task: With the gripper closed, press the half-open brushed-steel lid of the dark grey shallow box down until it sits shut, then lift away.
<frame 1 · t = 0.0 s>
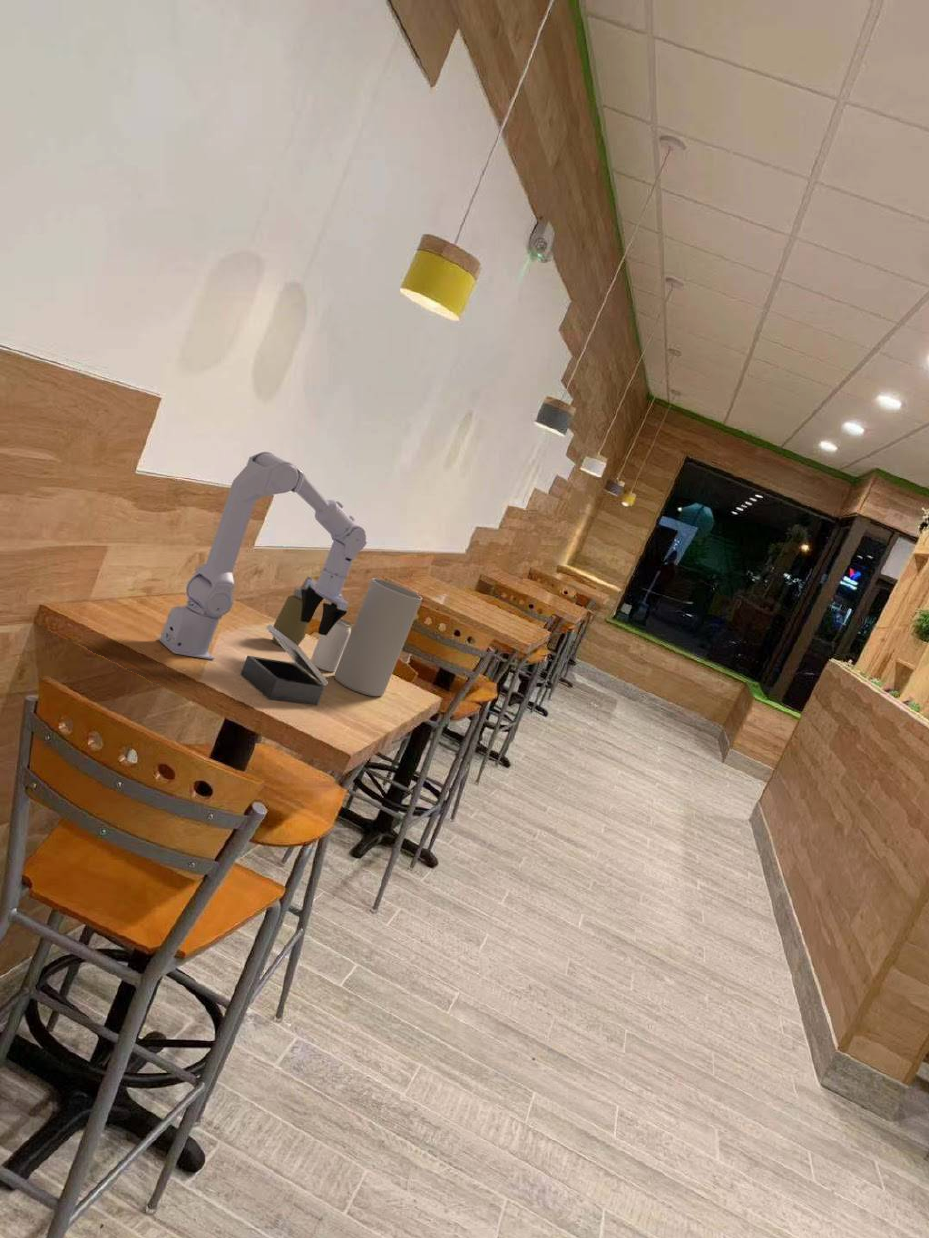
hand: (313, 627, 208), 10 cm above the table, fingers open, 7 cm apart
can: (322, 667, 220), on the table
lid: (297, 654, 188), point 8 cm above the table, hinge at 32.0°
squeeze bottle: (283, 645, 225), on the table
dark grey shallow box: (278, 690, 188), on the table
cylinder vase: (357, 686, 216), on the table
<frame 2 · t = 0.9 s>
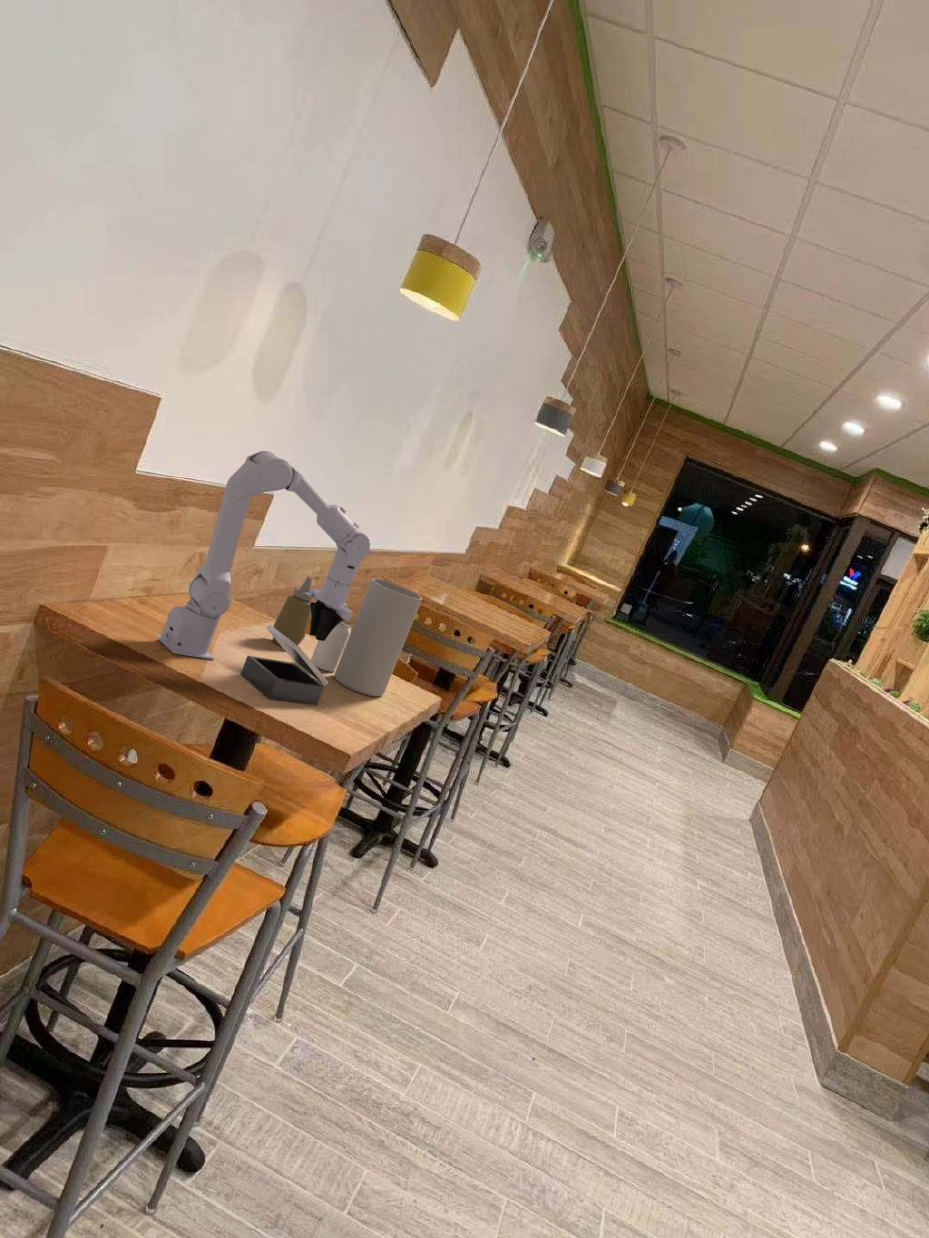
hand: (316, 637, 203), 9 cm above the table, fingers closed
nothing on the table moved.
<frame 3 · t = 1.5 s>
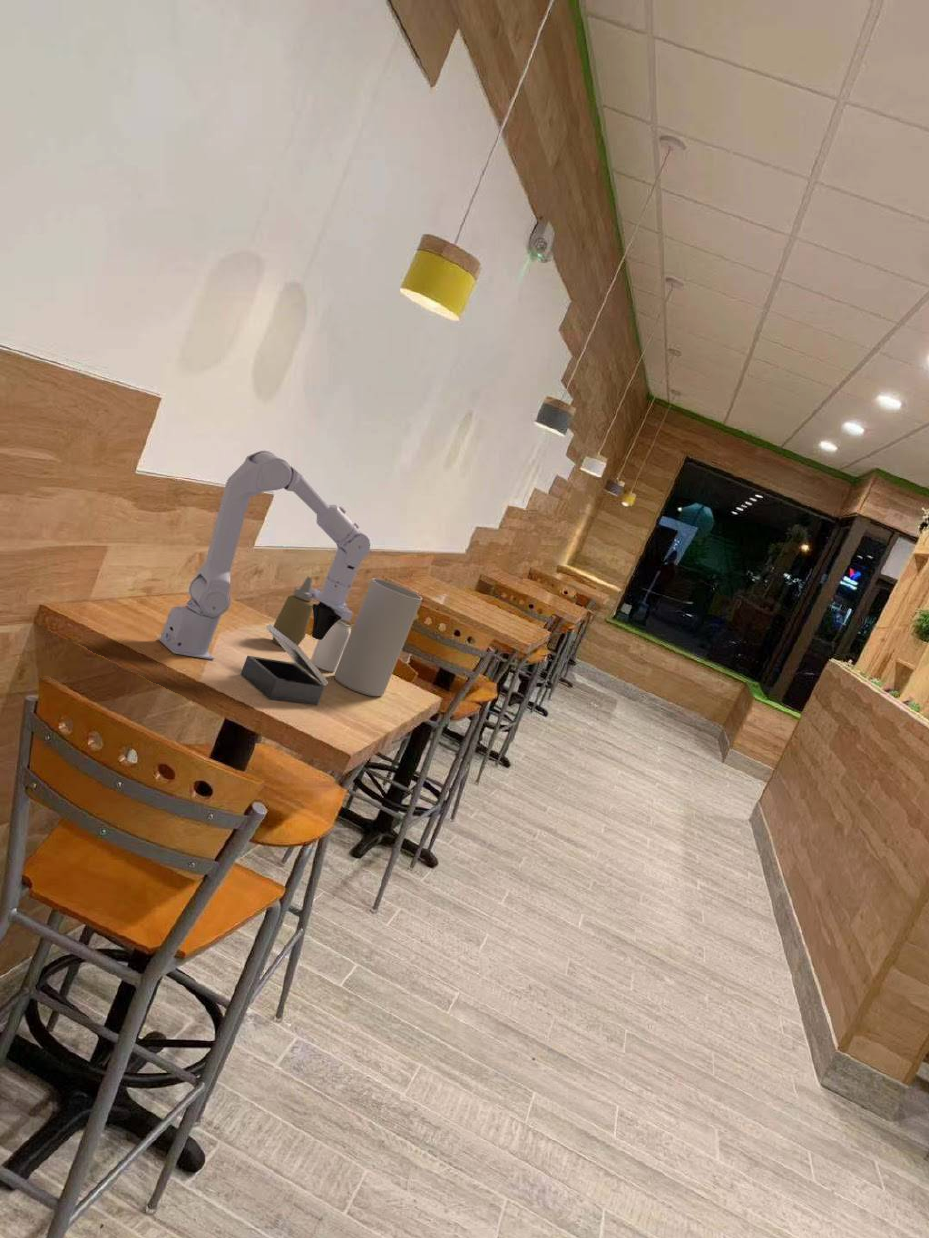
hand: (316, 638, 203), 9 cm above the table, fingers closed
nothing on the table moved.
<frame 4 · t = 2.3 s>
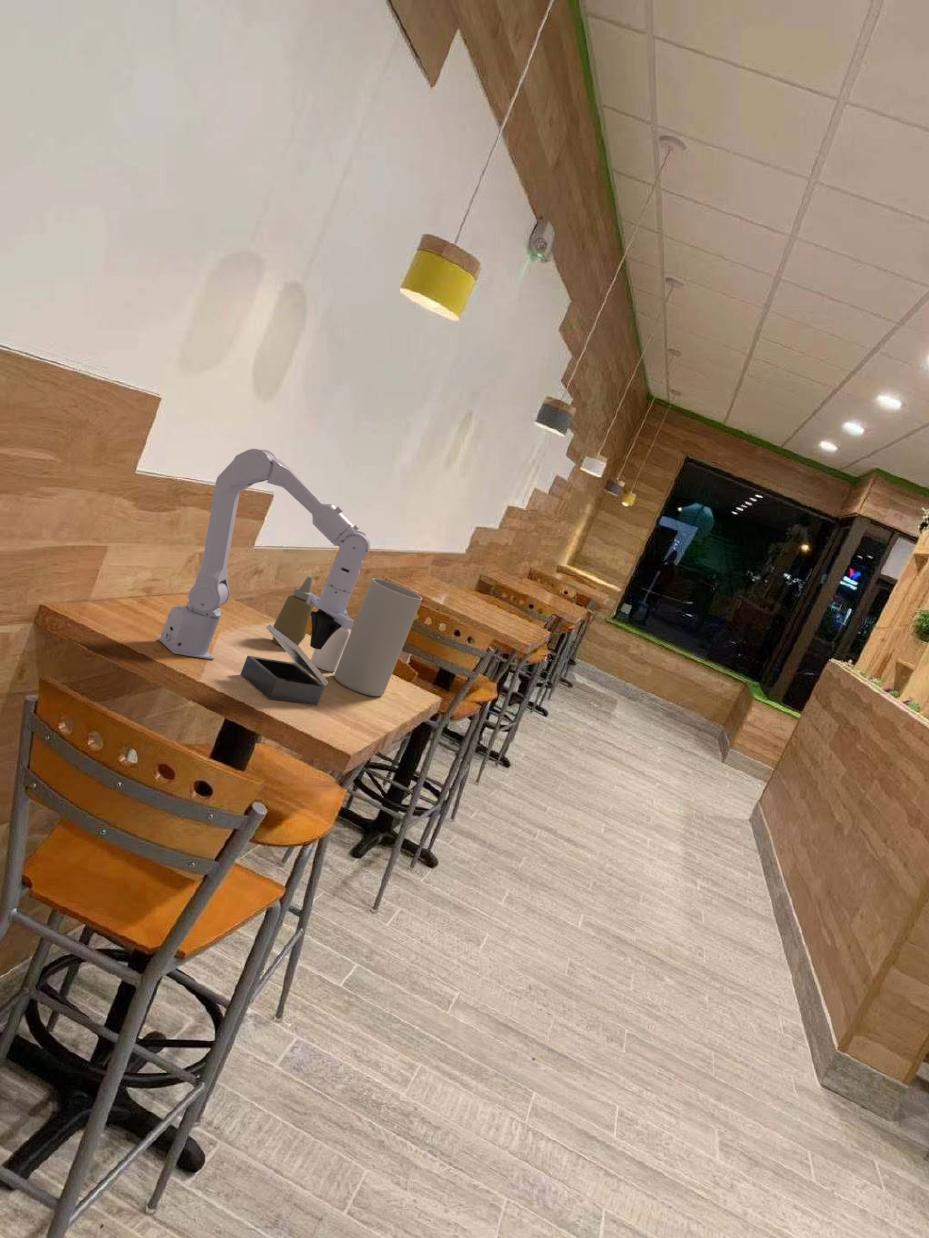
hand: (315, 647, 190), 10 cm above the table, fingers closed
nothing on the table moved.
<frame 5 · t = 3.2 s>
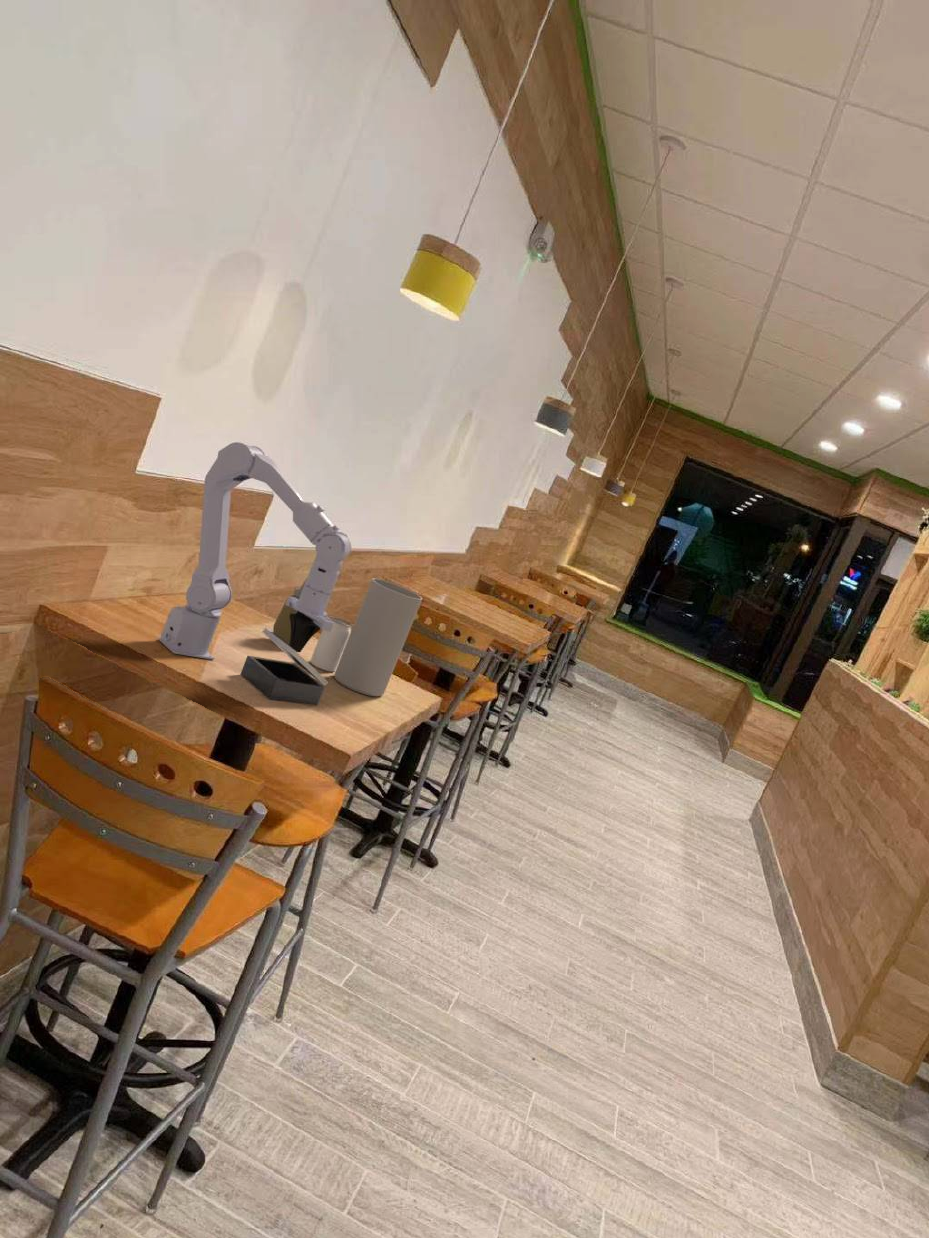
hand: (294, 650, 187), 9 cm above the table, fingers closed, pressing on lid
lid: (295, 656, 188), point 8 cm above the table, hinge at 26.6°, touching gripper
everything else where it was.
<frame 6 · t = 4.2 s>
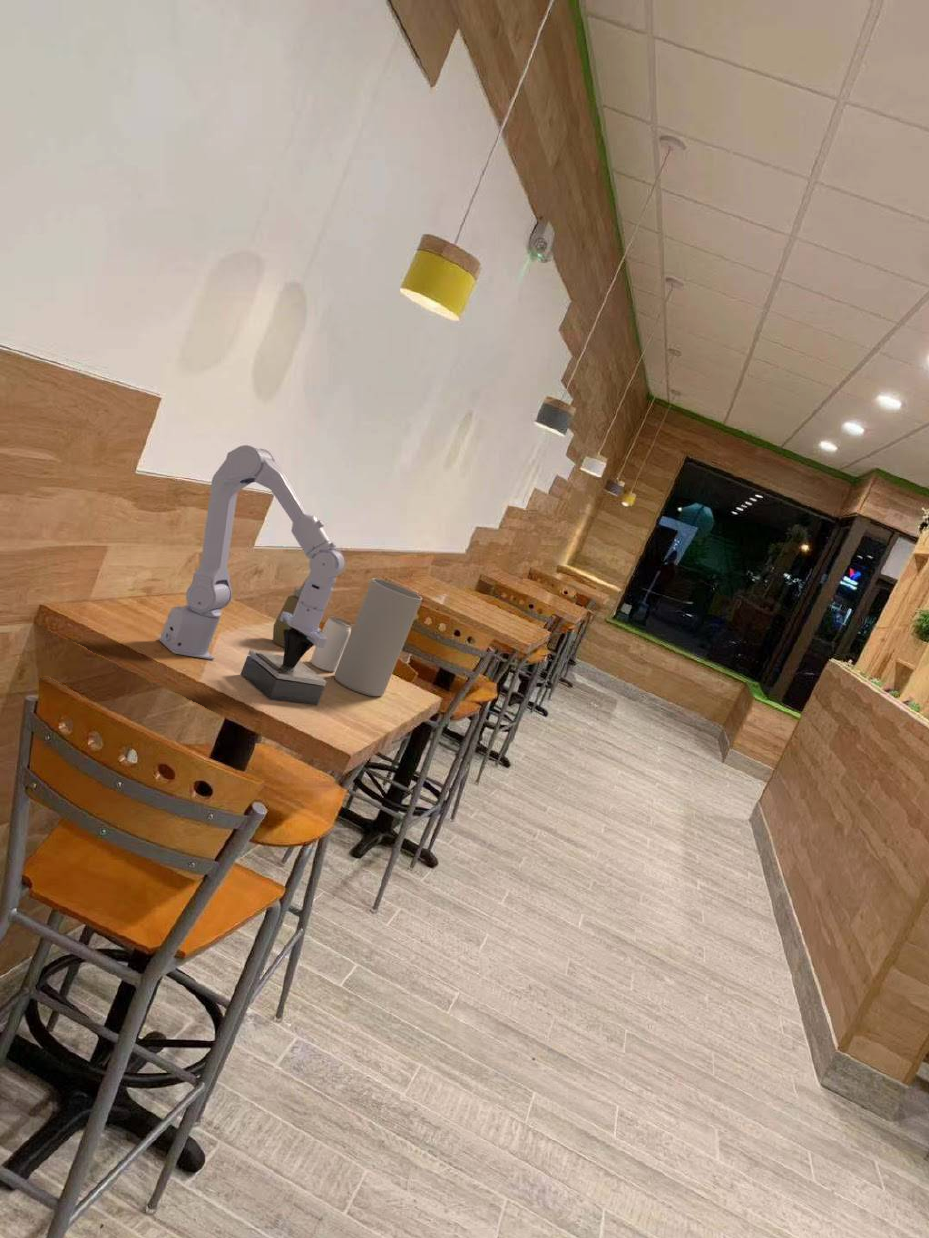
hand: (288, 666, 187), 5 cm above the table, fingers closed, pressing on lid
lid: (287, 667, 187), point 5 cm above the table, hinge at 0.5°, touching gripper
everything else where it was.
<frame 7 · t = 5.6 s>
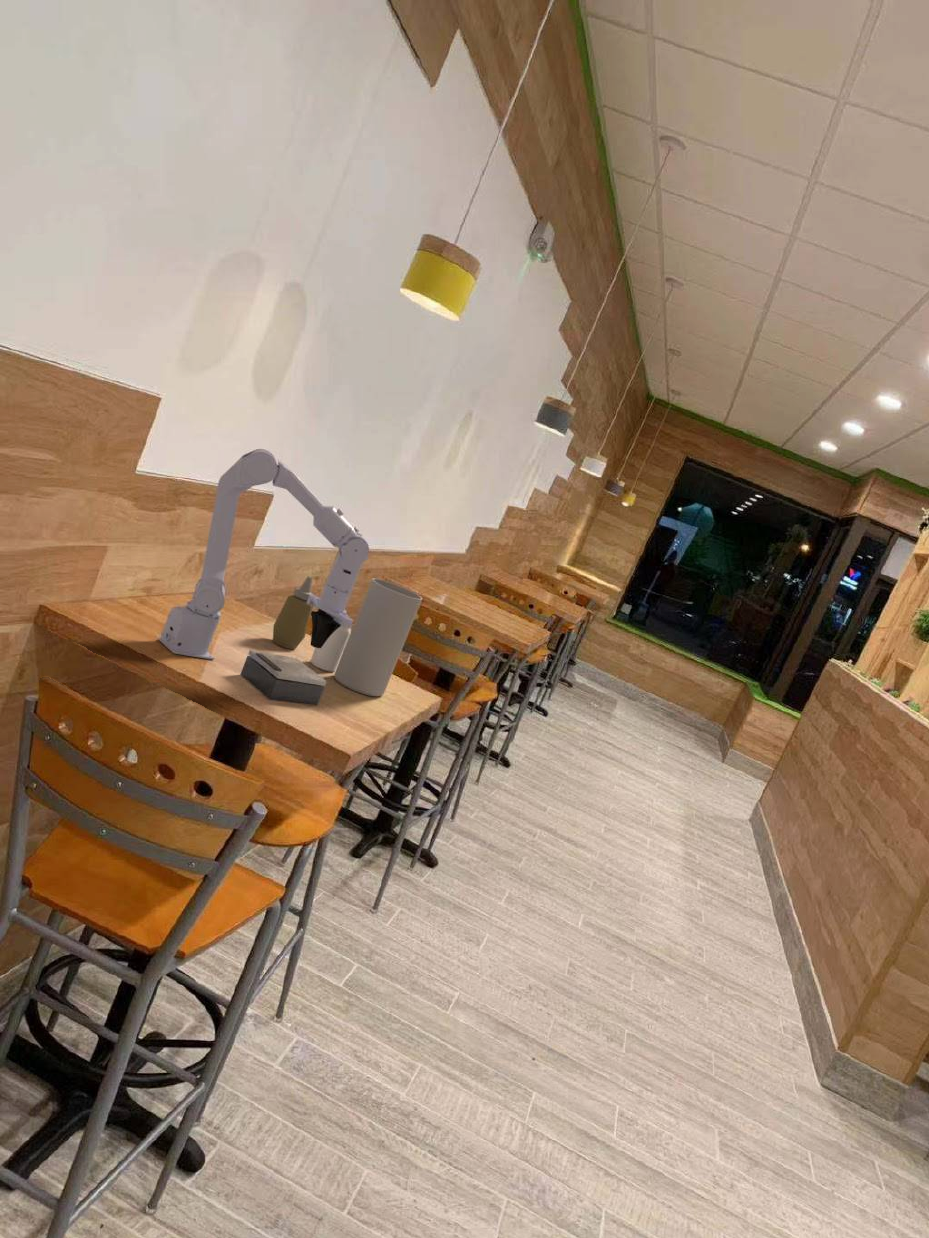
hand: (315, 646, 195), 9 cm above the table, fingers closed
lid: (287, 667, 187), point 5 cm above the table, hinge at 0.5°
everything else where it was.
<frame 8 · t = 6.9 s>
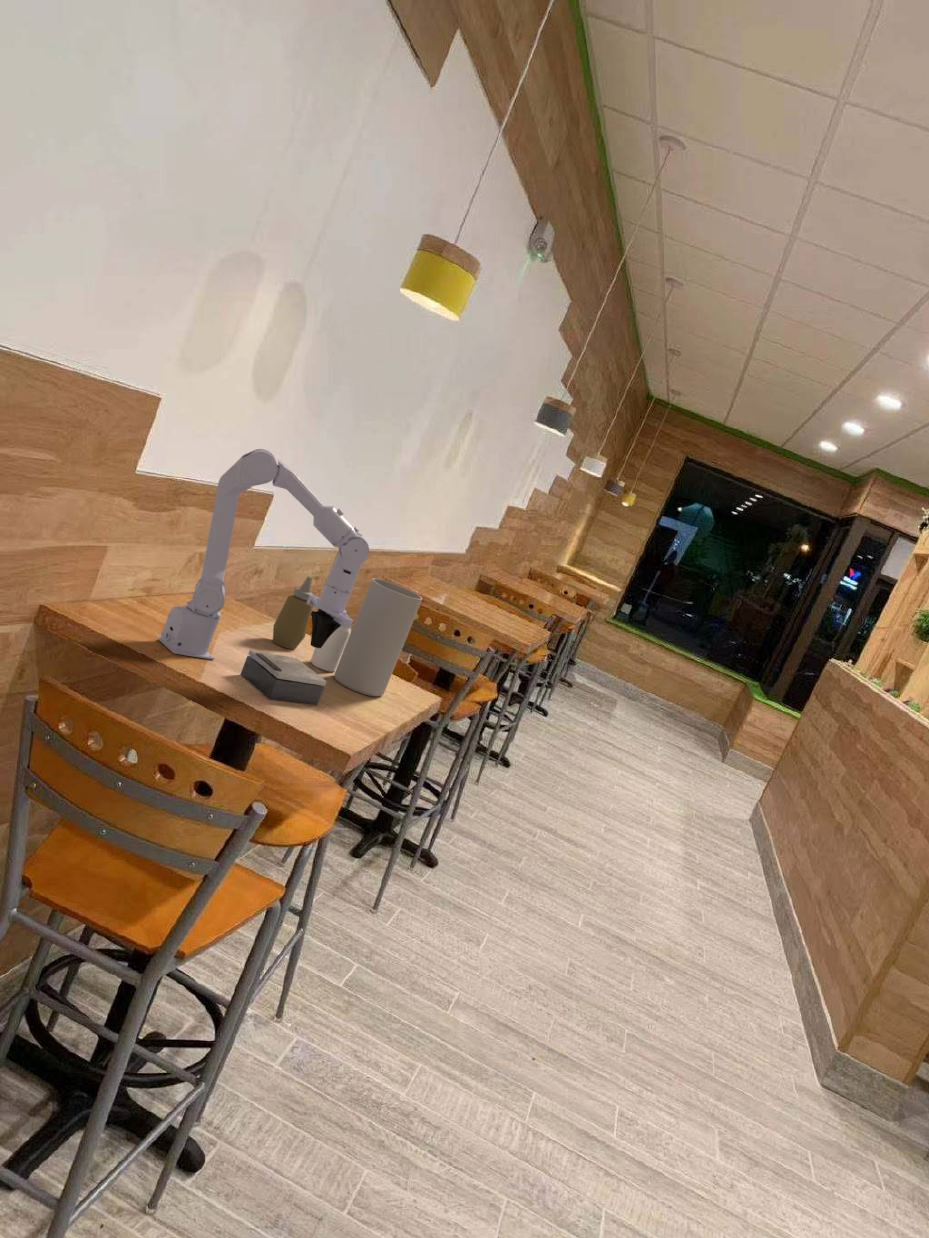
hand: (315, 646, 195), 9 cm above the table, fingers closed
nothing on the table moved.
at the end: lid at +0° (first picture: +32°); can moved 0.2 cm from its start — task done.
